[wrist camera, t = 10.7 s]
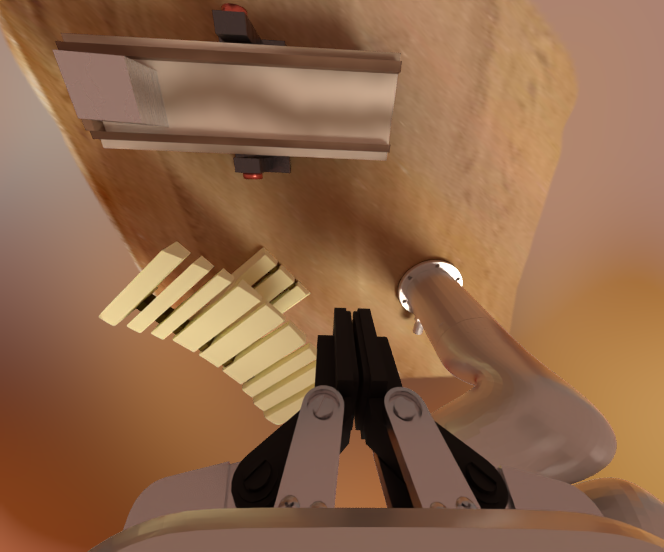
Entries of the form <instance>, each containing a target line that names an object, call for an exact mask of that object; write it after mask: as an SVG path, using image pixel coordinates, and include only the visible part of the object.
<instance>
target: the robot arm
mask: <svg viewBox="0 0 664 552" xmlns="http://www.w3.org/2000/svg"><path fill="white" fill-rule="evenodd" d="M462 283H463V281H462V276H461V274H460V272H459V271H458V270H457V269H456V267H454V266H453V265H452V264H450V263H448V262H446V261H442V260H428V261H425V262H422V263H419V264H417V265H415V266H414V267H412V268H411V269H410V270H408V271H407V272H406V273H405V275H404V276H403V277H402V279H401V281H400V283H399V286H398V298H399V300H400V302H401V304H402V306H403V307H404V308H405V309H406V310H408V311H409V312H411V313H413V314H414V315H415V318H414V319H415V321H416V322H415V324H414V328H413V332H414V333H415V334H417V335H420V334H422V332H423V329H424V331H425V333H426V334H427V336H428V338H429V340H430V342H431V344H432V346H433V347H434V349H435V351H436V353H437V355H438V357H439V359H440V360H441V362H442V364H443V365H444V367H445V368H446V369H447V370H448V371H449V372H450V373H451V374H452V375H454V376H455V377H457V378H459V379H461V380H462V381H464V382H467V383H469V384H471V385H474V386H475V387H474V388H472V389H471V390H469V391H468V392H466V393H465V394H464V395H462V396H460V397H458V398H457V399H455V400H453V401H452V402H450V403H448V404H446V405H444V406H443V407H441V408H439V409H438V410H436V411H434V412H433V413H431V414H430V412H429V411H428V408H427V406H426V404H425V403H424V401H423V400H422V398H421V397H420V396H419V395H418V394H417V393H415V392H414V391H412V390H410V389H407V388H404V387H402V384H401V380H400V377H399V374H398V371H397V368H396V364H395V361H394V358H393V355H392V351H391V348H390V345H389V342H388V339H387V337H377V335H376V331H375V327H374V323H373V319H372V315H371V311H370V309H360V308H358V310H357V311H354V312H353V320H351V312H350V311H346V308H335V309H334V325H333V336H332V335H318V342H317V357H316V373H315V387H314V388H312V389H311V390H309V391H308V392H307V394H306V395H305V397H304V399H303V402H302V405H301V409H300V410H299V411H298V412H297V413H296V414H295V415H293V416H292V417H291V418H290V419H289V420H288V421H287V422H285V423H284V424H283V425H282V426H281V427H280V428H278V429H277V430H276V431H275V432H274V433H273V434H271V435H270V436H269V437H268V438H267V439H266V440H265V441H263V442H262V443H261V444H260V445H259V446H257V447H256V448H255V449H254V450H253V451H252V452H250V453H249V454H248V455H247V456H246V457H245V458H244V459H243V460H242V461H241V462H237V463H233V464H230V463H229V462H225V463H221V464H217V465H213V466H209V467H206V468H201V469H197V470H193V471H189V472H185V473H181V474H178V475H174V476H170V477H166V478H163V479H160V480H158V481H156V482H154V483H153V484H151V485H150V486H149V487H148V488H146V489H145V490H144V491H143V492H142V493H141V495H140V496H139V497H138V499H136V501H135V503H134V505H133V507H132V509H131V511H130V513H129V515H128V518H127V521H126V524H125V526H124V529H123V531H122V532H120V533H118V534H116V535H114V536H112V537H110V538H108V539H107V540H105V541H103V542H102V543H100V544H99V545H97V546H95V547H94V548H92V549H91V550H89V551H88V552H664V503H663V502H662V501H660V500H659V499H658V498H656V497H655V496H654V495H652V494H651V493H650V492H648V491H646V490H645V489H643V488H641V487H639V486H638V485H636V484H634V483H632V482H629V481H626V480H623V479H619V478H599V479H594V480H589V481H586V482H582V483H578V484H575V485H571V484H573V483H576V482H579V481H582V480H584V479H586V478H588V477H590V476H593V475H594V474H596V473H598V472H599V471H601V470H602V469H603V468H605V467H606V466H607V465H608V464H609V463H610V462H611V460H612V459H613V457H614V455H615V453H616V448H617V442H616V437H615V434H614V431H613V429H612V427H611V425H610V424H609V423H608V421H607V419H606V418H605V417H604V416H603V415H602V413H601V412H600V411H599V410H598V409H597V408H596V407H595V406H594V405H593V404H592V403H591V402H590V401H589V400H588V399H587V398H586V397H584V396H583V395H582V394H581V393H580V392H578V391H577V390H576V389H575V388H574V387H572V386H571V385H570V384H568V383H567V382H565V381H564V380H563V379H562V378H560V377H559V376H558V375H556V374H555V373H554V372H553V371H551V370H550V369H549V368H547V367H546V366H545V365H543V364H542V363H541V362H539V361H538V360H537V359H536V358H535V357H534V356H532V355H531V354H530V353H529V352H528V351H527V350H525V349H524V348H523V347H522V346H521V345H520V344H519V343H518V342H517V341H516V340H515V339H514V338H513V337H512V336H511V335H510V334H509V333H508V332H507V331H506V330H505V329H504V328H503V327H502V326H501V325H500V324H499V323H498V322H497V321H496V320H495V319H494V318H493V317H492V316H491V315H490V314H489V313H488V312H487V311H486V310H485V309H484V308H483V307H482V306H481V305H480V304H479V303H478V302H477V301H476V300H475V299H474V298H473V297H472V296H471V295H470V294H469V293H468V292H467V291H466V290H465V289H464V288H463V287H462ZM354 418H355V428H356V430H360V431H361V439H365V440H366V444H367V445H368V446H369V447H370V448H371V449H372V450H373V456H374V461H375V464H376V468H377V471H378V475H379V479H380V483H381V486H382V490H383V494H384V497H385V501H386V505H387V508H334V505H335V495H336V485H337V475H338V465H339V455H340V453H341V452H342V451H343V450H344V449H345V447H346V446H347V445H348V444H349V439H350V431H351V430H352V427H353V420H354Z"/></svg>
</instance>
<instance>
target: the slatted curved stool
mask: <svg viewBox="0 0 664 552" xmlns="http://www.w3.org/2000/svg"><path fill="white" fill-rule="evenodd" d="M190 254H191V252H189V251H188V250H187V249H186V248H185V247H183V246H182V245H181V244H180V243H179V242H177V241H176V242H175V243H173V244H171V245H170V246H168V247H167V248H165V249H163V250H162V251H161V252H160V253H159V254H158V255H157V256H156V257H155V258H154V259H153V260H152V261H151V262H150V263H149V264H148V265H147V266H146V267H145V268H144V269H143V270H142V271H141V272H140V273H139V274H138V275H137V277H136V278H135V279H134V280H133V281H132V282H131V283H130V284H129V285H128V286H127V287H126V288H125V289H124V290H123V291H122V292H121V293H120V294H119V295H118V296H117V297H116V298H115V299H114V300H113V301H112V302H111V303H110V305H108V307H107V308H106V309H105V310H104V311H103V312H102V313H101V314H100V315H99V318H101V319H102V320H104V321H106V322H107V323H109V324H111V325H113V326H115V325H116V324H118V323H119V322H120V321H122V320H123V319H124V318H125V317H126V316H127V315H129V314H130V313H131V312H132V311H134V310H135V309H138V310H139V311H141V312H140V313H139V314H138V315H137V317H135V318H134V319H133V320H132V321H131V322H130V323H129V324H128V325H127V327H129V328H131V329H133V330H135V331H137V332H139V333H141V332H142V331H144V330H145V329H146V328H147V327H148V326H149V325H150V324H151V323H152V322H154V321H156V322H158V323H159V325H158V326H157V327H156V328H155V329H154V330H153V331H152V332H151V334H153V335H155V336H157V337H159V338H161V339H163V340H164V339H165V338H166V337H167V336H168V335H170V334H171V333H172V332H173V333H174V334H175V336H174V338H173V341H175V342H177V343H178V344H180V345H182V346H184V347H185V348H187V349H189V350H191V351H193V352H195V351H196V350H197V349H199V350H200V354H199V355H200V356H201V357H203V358H205V359H206V360H208V361H209V362H211V363H212V364H214V365H215V366H216V367H219V366H221V365H223V372H225V373H226V374H228V375H229V376H230V377H232V378H233V379H234V380H236V381H237V382H238V383H240V384H242V383H243V385H242V390H243V391H244V392H245V393H247V394H248V395H249V396H251V397H253V403H254V404H255V405H256V406H257V407H258V408H260V409H261V410H263V411H264V417H265V418H266V419H267V420H269V421H271V422H272V423H274V424H276V425H279V424H283V423H285V422H286V421H288V420H289V419H290V418H291V417H292V416H293V415H295V414H296V413H297V412H298V411H299V410H300V409H301V405H302V402H303V399H304V397H305V395H306V394H307V392H308V391H309V390H311V389H312V388H314V387H315V373H316V360H315V359H316V357H317V348H316V347H315V346H314V345H312V344H311V343H308V344H306V345H305V346H303V347H301V348H300V349H298V350H296V349H297V348H299V347H300V346H302V345H304V344H305V342H306V334H305V333H304V332H303V331H301V330H300V329H299V328H298V327H297V326H296V325H295V324H293V323H292V322H291V321H288V322H287V323H285V324H284V325H282V326H281V327H279V328H278V329H276V330H275V331H273V332H272V333H270V334H268V335H267V336H265V337H263V338H262V339H261V337H262V336H264V335H265V334H267V333H268V332H270V331H271V330H272V329H274V328H275V327H277V326H278V325H280V324H281V323H282V322H284V321H285V316H284V315H283V313H284V312H285V311H287V310H288V309H290V308H291V307H292V306H294V305H295V304H297V303H298V302H299V301H301V300H302V299H304V298H305V297H306V296H308V295H309V294H311V293H310V292H309V291H308V290H307V289H306V288H305V287H304V286H303V285H302V284H301V283H300V282H299V281H298V282H295V277H294V276H293V275H292V274H291V273H290V272H289V271H288V270H287V269H286V268H285V267H284V266H283V265H280V266H279V265H278V264H277V263H278V260H277V259H276V258H275V257H274V256H273V255H272V254H271V253H270V252H268V251H267V250H266V249H265V248H264V247H263V248H261V249H260V250H259V251H258V252H257V253H256V254H254V255H253V256H252V257H251V258H250V259H249V260H247V261H246V262H245V263H244V264H243V265H242V266H240V267H239V268H238V269H237V270H236V271H235V272H233V273H232V274H230V273H229V272H227V271H226V270H225V269H224V268H223V269H222V270H221V271H219V272H218V273H217V274H216V275H215V276H214V277H213V278H211V279H210V280H209V281H208V282H207V283H206V284H205V285H203V286H202V287H201V288H200V289H199V290H198V291H196V292H195V293H194V294H193V295H192V296H190V297H189V298H188V299H187V300H185V301H183V302H182V303H181V304H180V305H179V306H178V307H177V308H176V309H173V308H171V307H170V306H171V305H173V304H174V303H175V302H176V301H177V300H178V299H179V298H180V297H181V296H183V295H184V294H185V293H186V292H187V291H188V290H189V289H190V288H191V287H193V286H194V285H195V284H196V283H197V282H198V281H199V280H200V279H201V278H203V277H204V276H205V275H206V274H207V273H208V272H209V271H210V270H211V269H212V268H213V267H214V265H212V264H211V263H210V262H209V261H208V260H206V259H205V258H204V257H203V256H201V257H199V258H198V259H197V260H196V261H195V262H193V263H192V264H191V265H190V266H189V267H188V268H187V269H186V270H185V271H184V272H183V273H182V274H181V275H180V276H179V277H177V278H176V279H175V280H174V281H173V282H172V283H171V284H170V285H169V286H168V287H167V288H166V289H165V290H164V291H163V292H162V293H161V294H159V295H158V296H157V297H156V296H154V295H153V294H152V293H153V292H154V291H156V290H157V289H158V287H157V286H158V285H159V284H160V283H161V282H162V281H163V280H164V279H165V278H166V277H167V276H168V275H169V274H170V273H171V272H172V271H173V270H174V269H175V268H176V267H177V266H178V265H179V264H180V263H181V262H182V261H183V260H184V259H185V258H186V257H188V256H189V255H190ZM269 271H270V272H271V273H270V274H269V275H268V276H267V277H265V278H264V279H263V280H262V281H260V282H259V283H258V284H257V285H255V286H254V287H253V288H252V287H251V286H252V285H253V284H254V283H255V282H257V281H258V280H259V279H260V278H261V277H263V276H264V275H265V274H266V273H268V272H269ZM286 288H288V289H287V290H286V291H284V290H285V289H286ZM282 291H284V292H283V293H282V294H280V293H281V292H282ZM278 294H280V295H279V296H278V297H276V296H277V295H278ZM275 297H276V298H275ZM273 298H275V299H274V300H272V299H273ZM210 300H211V301H210ZM271 300H272V301H271ZM209 301H210V303H209V304H208V305H206V306H204V305H205V304H206V303H208V302H209ZM270 301H271V302H270ZM269 302H270V303H269ZM200 308H201V309H200ZM199 309H200V310H199ZM198 310H199V311H198ZM193 314H194V315H193ZM192 315H193V316H192ZM294 350H296V351H295V352H293V351H294ZM291 352H293V353H291ZM289 353H291V354H289ZM288 354H289V355H288ZM286 355H288V356H286ZM285 356H286V357H285ZM283 357H284V358H283ZM314 360H315V361H314ZM312 361H313V362H312ZM310 362H311V363H310ZM309 363H310V364H309ZM307 364H308V365H307ZM305 365H306V366H305Z"/></svg>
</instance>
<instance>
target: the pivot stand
mask: <svg viewBox="0 0 664 552" xmlns="http://www.w3.org/2000/svg"><path fill="white" fill-rule="evenodd" d="M221 8H222V11H220V10H212V12H213V19H214V26H215V33H216V34H217V35H218V36H219V42H223V43H240V44H257V45H274V46H286V44H285V41H275V40H261V39H260V37H259V35H258V34H257V32H256V30H255V29H254V27H253V25H252V24H251V22H250V20H249V19H248V17H247V11H246V10H245V9H244V8H243V7H241V6H239V5H236V4H229V3H228V4H223V5H222V6H221ZM235 157H236V158H234V165H235V172H238V173H243V177H244V179H262V178H263V176H262V173H263V172H281V173H291V164H290V156H272V155H250V154H235Z"/></svg>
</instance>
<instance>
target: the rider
mask: <svg viewBox="0 0 664 552" xmlns="http://www.w3.org/2000/svg"><path fill="white" fill-rule="evenodd" d="M53 52H54V55H55V58H56V60H57V63H58V66H59V68H60V71H61V74H62V76H63V79H64V82H65V84H66V87H67V90H68V92H69V95H70V98H71V100H72V103H73V106H74V108H75V111H76V114H77V116H78V118H80V119H88V120H96V121H104V122H112V123H124V124H136V125H149V126H162V127H169V124H168V119H167V115H166V110H165V106H164V102H163V97H162V93H161V88H160V84H159V79H158V75H157V71H156V70H153V69H151V68H149V67H147V66H145V65H142V64H140V63H138V62H136V61H134V60H131V59H129V58H127V57H125V56H118V55H107V54H96V53H85V52H74V51H63V50H53Z"/></svg>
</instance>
